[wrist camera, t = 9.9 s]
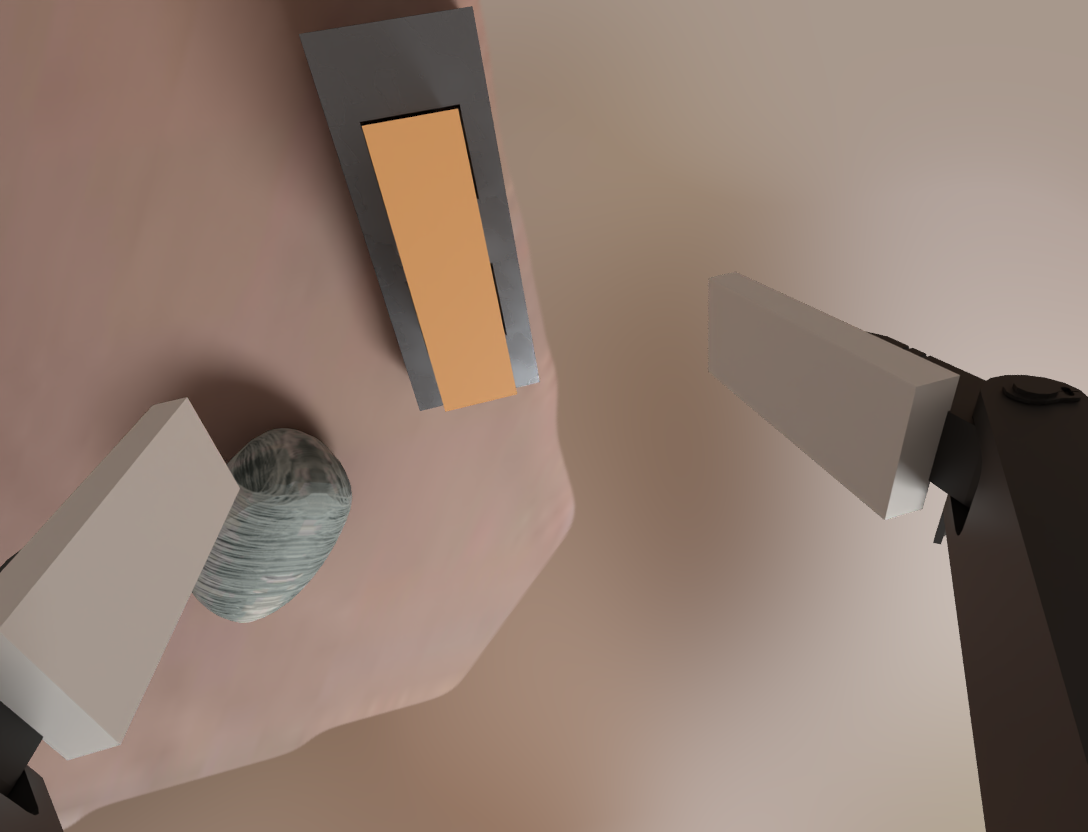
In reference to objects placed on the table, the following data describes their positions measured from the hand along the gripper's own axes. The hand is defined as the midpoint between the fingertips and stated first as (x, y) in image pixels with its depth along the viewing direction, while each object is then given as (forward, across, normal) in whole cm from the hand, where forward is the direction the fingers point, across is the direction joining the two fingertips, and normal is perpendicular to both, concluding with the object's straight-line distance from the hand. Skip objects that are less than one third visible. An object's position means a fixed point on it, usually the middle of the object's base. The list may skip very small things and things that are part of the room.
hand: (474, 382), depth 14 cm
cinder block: (+23, 0, 0) cm, 23 cm away
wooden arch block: (+22, 0, 0) cm, 22 cm away
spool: (+23, -16, -16) cm, 32 cm away
